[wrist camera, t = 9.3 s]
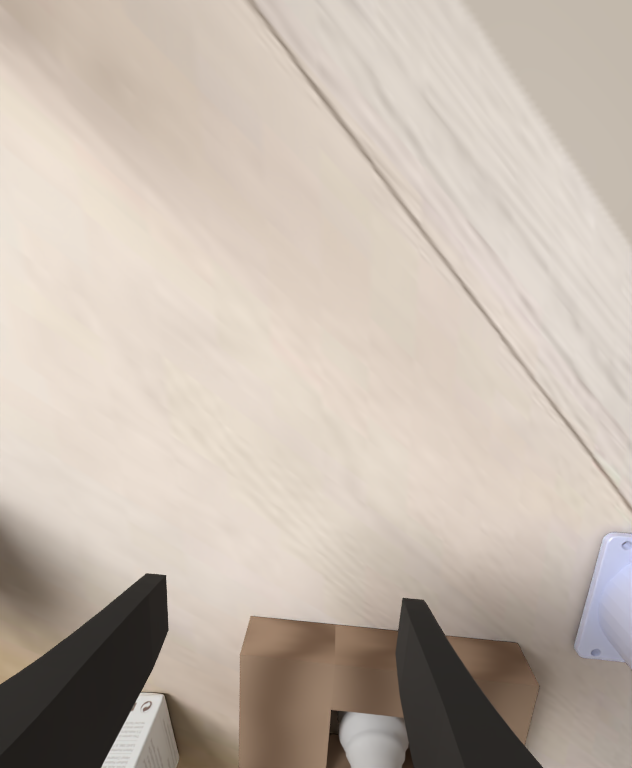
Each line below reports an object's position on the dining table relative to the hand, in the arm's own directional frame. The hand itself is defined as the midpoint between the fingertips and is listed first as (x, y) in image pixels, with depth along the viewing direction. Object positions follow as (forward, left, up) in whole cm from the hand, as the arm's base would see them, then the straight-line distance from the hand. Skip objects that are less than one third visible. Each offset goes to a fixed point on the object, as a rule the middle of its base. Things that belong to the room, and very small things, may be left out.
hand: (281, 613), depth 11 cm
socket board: (-5, +16, -9) cm, 19 cm away
